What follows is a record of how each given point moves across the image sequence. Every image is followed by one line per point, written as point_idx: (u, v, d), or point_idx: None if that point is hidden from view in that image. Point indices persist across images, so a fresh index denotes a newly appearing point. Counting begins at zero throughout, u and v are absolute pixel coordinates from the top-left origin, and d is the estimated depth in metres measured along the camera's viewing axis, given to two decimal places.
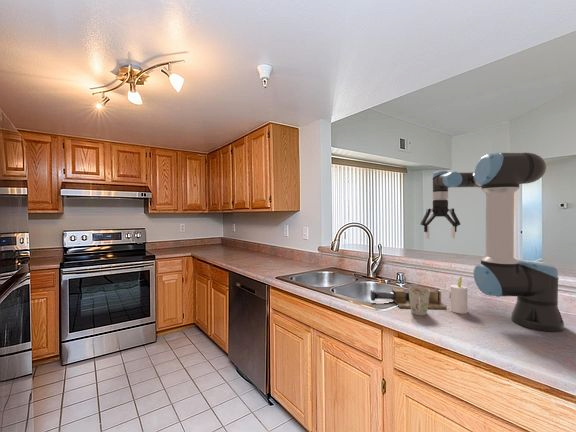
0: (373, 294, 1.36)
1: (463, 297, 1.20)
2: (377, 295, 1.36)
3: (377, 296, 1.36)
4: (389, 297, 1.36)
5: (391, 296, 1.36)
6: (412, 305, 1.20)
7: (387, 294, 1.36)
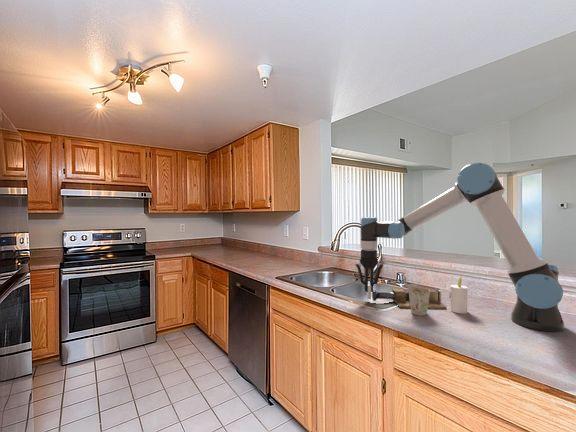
0: (375, 294, 1.36)
1: (463, 297, 1.20)
2: (378, 295, 1.36)
3: (378, 296, 1.36)
4: (390, 297, 1.36)
5: (392, 296, 1.36)
6: (412, 305, 1.20)
7: (388, 294, 1.36)
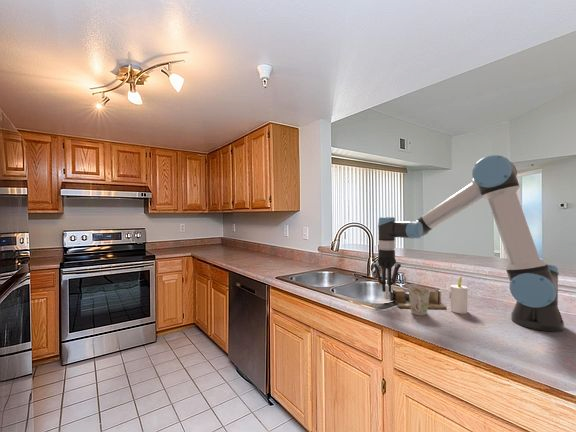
0: (393, 294, 1.35)
1: (463, 297, 1.20)
2: None
3: None
4: (408, 297, 1.35)
5: None
6: (412, 305, 1.20)
7: (406, 294, 1.35)
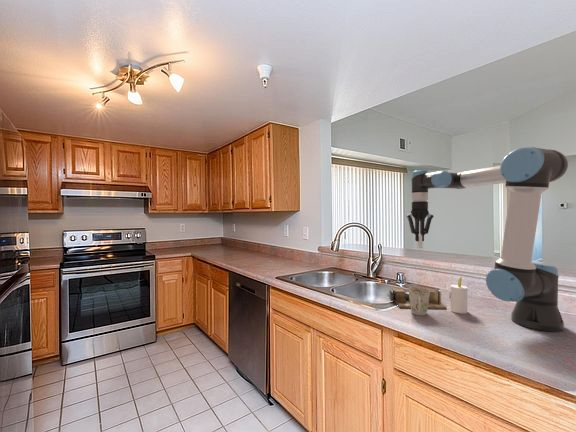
0: (393, 294, 1.35)
1: (463, 297, 1.20)
2: None
3: None
4: (408, 297, 1.35)
5: None
6: (412, 305, 1.20)
7: (406, 294, 1.35)
